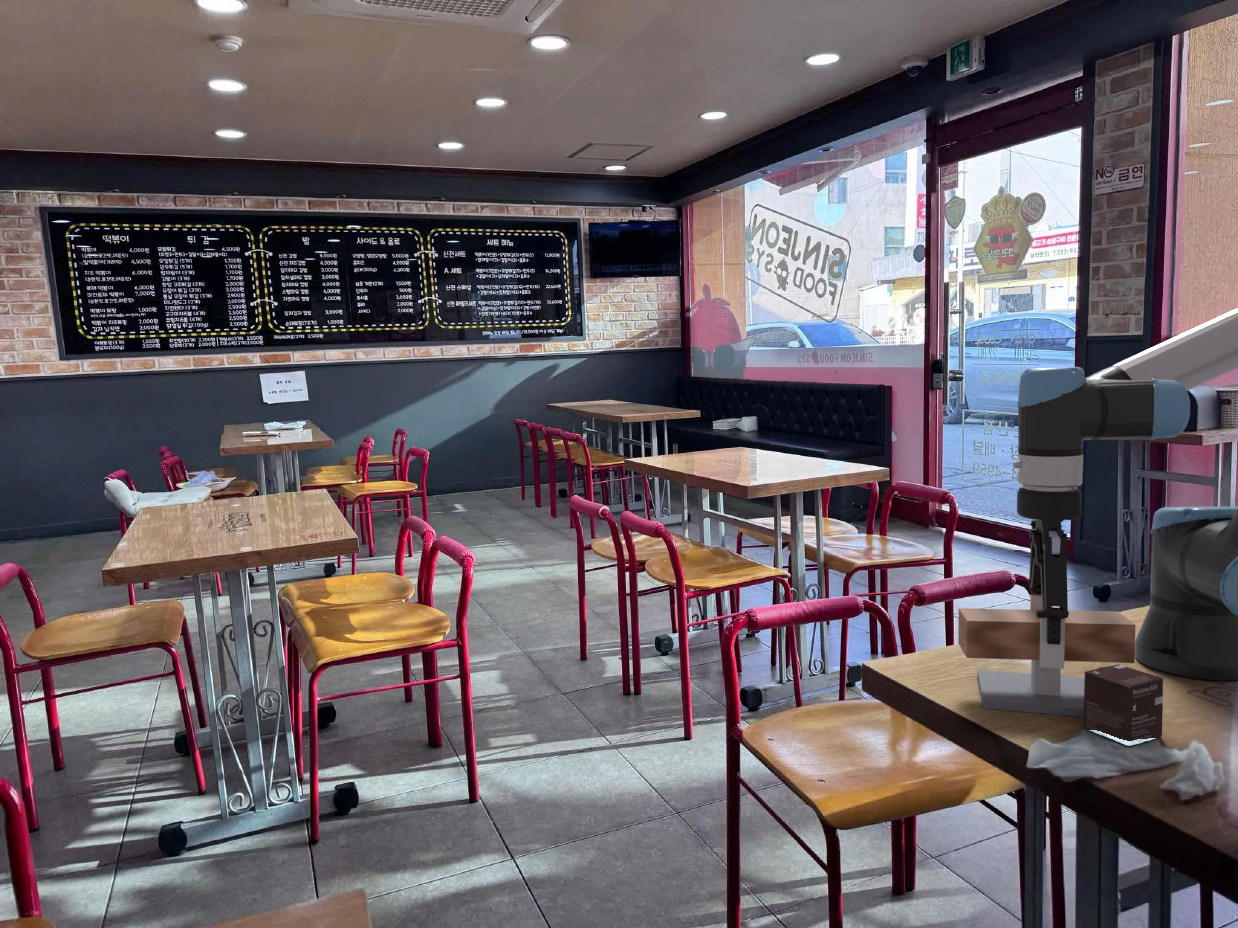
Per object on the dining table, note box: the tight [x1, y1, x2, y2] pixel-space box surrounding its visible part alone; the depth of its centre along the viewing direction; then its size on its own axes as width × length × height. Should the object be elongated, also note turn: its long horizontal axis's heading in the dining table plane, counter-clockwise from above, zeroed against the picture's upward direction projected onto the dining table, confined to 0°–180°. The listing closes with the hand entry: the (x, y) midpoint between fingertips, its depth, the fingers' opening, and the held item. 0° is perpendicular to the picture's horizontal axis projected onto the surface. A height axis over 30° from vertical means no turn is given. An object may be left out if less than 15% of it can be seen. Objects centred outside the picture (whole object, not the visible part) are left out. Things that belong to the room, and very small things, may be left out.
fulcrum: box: [976, 660, 1085, 718], centre depth 114 cm, size 16×12×6 cm
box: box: [1082, 664, 1164, 741], centre depth 102 cm, size 6×6×7 cm
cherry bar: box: [957, 607, 1136, 664], centre depth 114 cm, size 20×6×5 cm, turn 79°
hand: (1045, 653), depth 114 cm, fingers open, 10 cm apart
